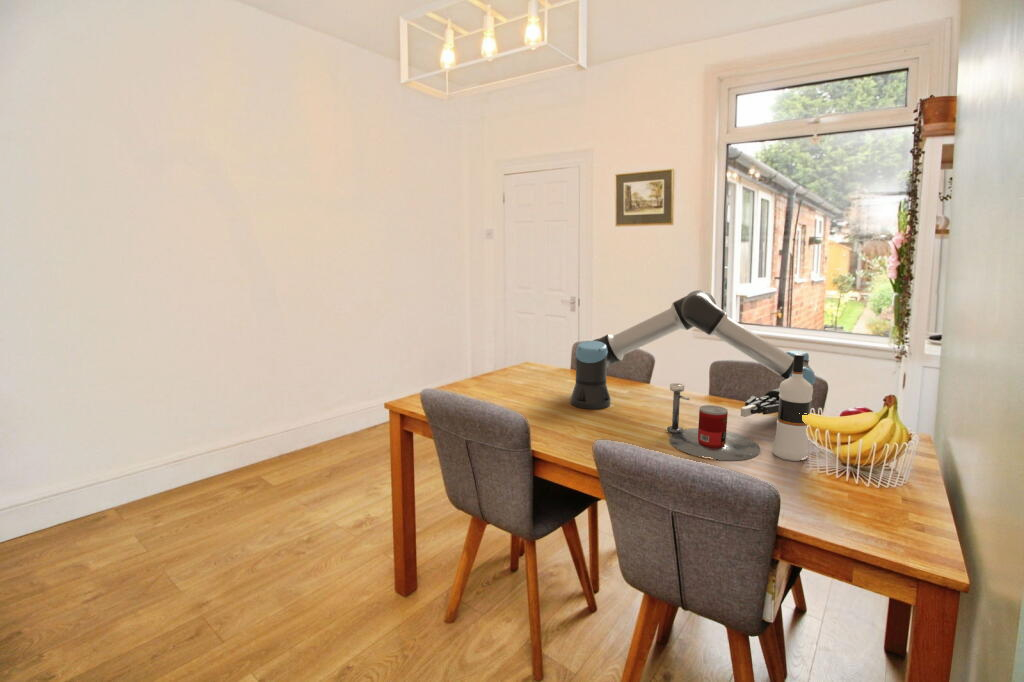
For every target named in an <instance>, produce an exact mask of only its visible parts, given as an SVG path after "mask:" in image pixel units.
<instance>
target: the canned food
mask: <svg viewBox="0 0 1024 682" xmlns="http://www.w3.org/2000/svg"><path fill="white" fill-rule="evenodd" d="M698 411H699V413H698V442H699V443H700V444H701V445H703V446H706V447H712V448H720V447H723V446H724V445H725V443H726V431H727V428H728V427H727V425H728V409H727V408H725V407H722V406H720V405H713V404H712V405H711V404H707V405H706V404H705V405H701V406H699V410H698Z"/></svg>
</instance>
